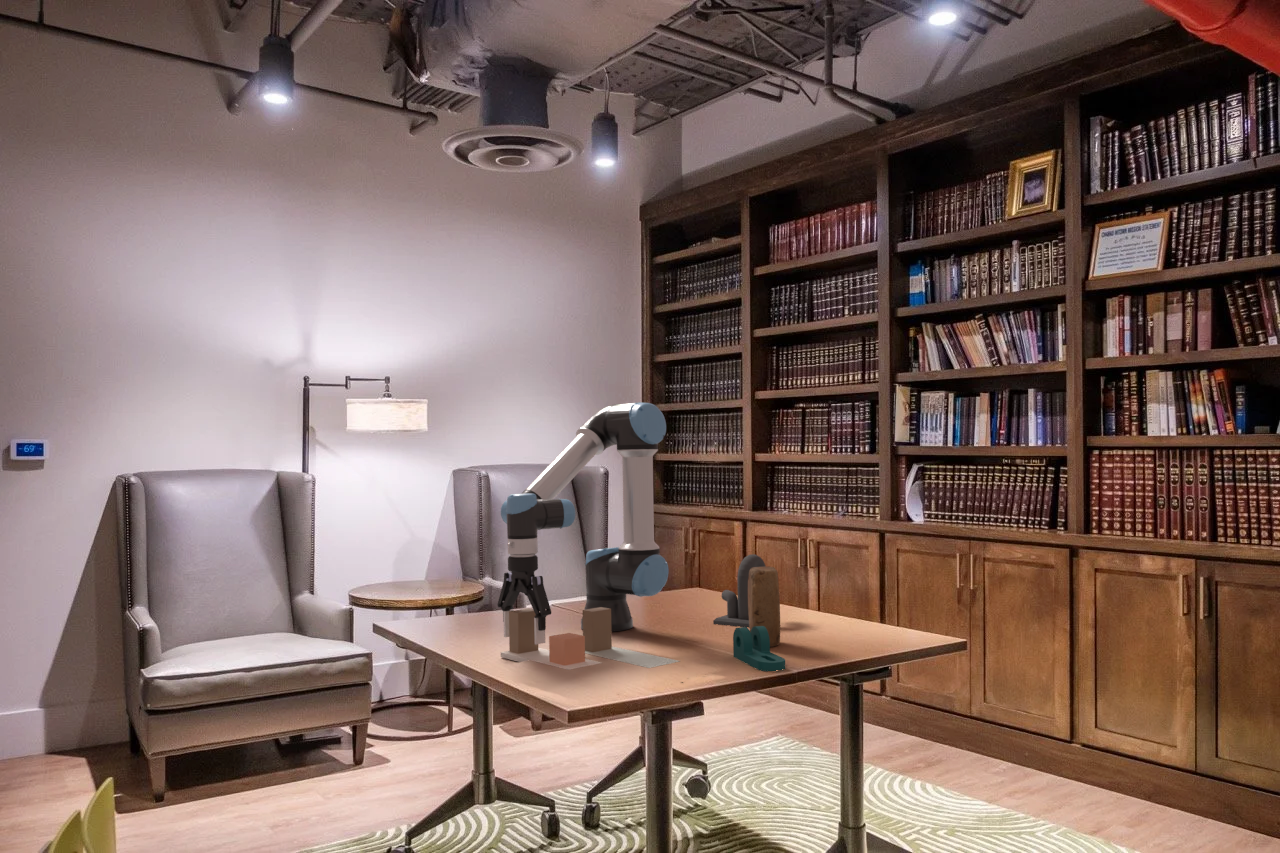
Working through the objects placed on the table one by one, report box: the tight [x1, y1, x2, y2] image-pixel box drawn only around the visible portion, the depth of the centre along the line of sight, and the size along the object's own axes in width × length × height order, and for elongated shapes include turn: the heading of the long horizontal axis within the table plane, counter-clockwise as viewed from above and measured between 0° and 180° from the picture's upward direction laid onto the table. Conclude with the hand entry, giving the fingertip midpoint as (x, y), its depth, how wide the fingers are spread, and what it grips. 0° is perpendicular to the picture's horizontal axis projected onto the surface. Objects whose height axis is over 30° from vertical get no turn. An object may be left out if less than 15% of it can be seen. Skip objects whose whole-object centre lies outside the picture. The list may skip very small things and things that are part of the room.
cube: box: [548, 632, 586, 665], centre depth 228 cm, size 6×6×6 cm
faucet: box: [712, 553, 767, 628], centre depth 285 cm, size 18×16×20 cm
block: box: [748, 566, 781, 648], centre depth 252 cm, size 11×8×20 cm
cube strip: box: [500, 608, 602, 671], centre depth 233 cm, size 28×10×11 cm, turn 41°
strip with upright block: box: [582, 607, 681, 669], centre depth 234 cm, size 28×10×11 cm, turn 41°
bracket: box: [732, 626, 786, 672], centre depth 229 cm, size 18×7×8 cm, turn 16°
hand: (524, 640), depth 242 cm, fingers open, 13 cm apart
